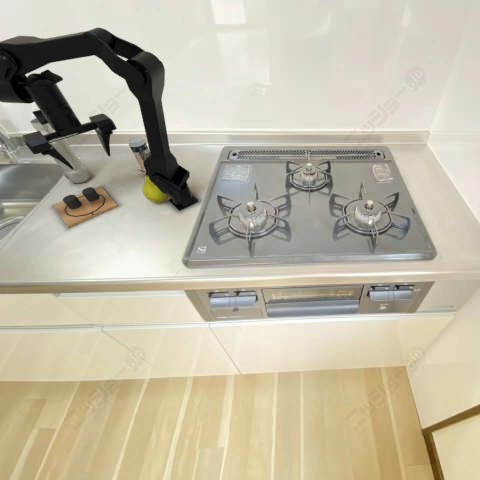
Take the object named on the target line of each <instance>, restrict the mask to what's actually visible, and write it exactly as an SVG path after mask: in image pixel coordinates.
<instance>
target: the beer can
mask: <svg viewBox="0 0 480 480" xmlns="http://www.w3.org/2000/svg"><path fill="white" fill-rule="evenodd" d="M128 146H129V148H130V150H131V151H132V153H133V155H134V157H135V159H136V161H137V163H138V165H139V167H140V168H141V169H140V170H142V171H144V172H143V174H144V175H145V176H146V173H145V172H146V170H145V167H144V164H143V162H144V161H145V160H146V158H147V157H148V156H149V155H150V150H149V146H148V144H147V142H146V140H145V139H143V137H140V136H135V137H134V136H133V137H132V138H130V139H129V140H128ZM142 171H141V172H142Z"/></svg>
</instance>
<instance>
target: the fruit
mask: <svg viewBox="0 0 480 480" xmlns="http://www.w3.org/2000/svg"><path fill="white" fill-rule="evenodd" d="M137 171H140V172H142V173H144V171H142V169H139V168H138V169H137ZM145 173H146V172H145ZM142 194H143V196H144V197H145V198H146V199H147V200H148V201H151V202H152V203H157V204H160V203H163V202H165V201H166V200H167V198H168V197H169V195H168V194H164V193H162V192H161V191H160V189H159V188H158V187H157V186H156V185H155V184H154V183H153V182H151V181H150V179H149V177H148V175H147V176H146V175H145V176H144V184H143V186H142Z"/></svg>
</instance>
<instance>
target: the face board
mask: <svg viewBox="0 0 480 480" xmlns="http://www.w3.org/2000/svg"><path fill="white" fill-rule="evenodd" d="M94 189H95V191H96V192H97V193H98V195H99V199H98V200H96V201H92V202H90V201H88V200H87V199H86V198H85V196H84V195H83V194H82V193H80V194H78V195H75V196H76V197H77V198H78V200H79V201H80V202H81V203H82V205H81V206H80V207H79V208H77V209H70V208H69V207H68V206H67V205H66V204H65V203H64V201H63V200H62V201H60V202H58V203H55V204H54V205H53V206H54V207H55V209H56V210H57V211H56V212H57V213H58V214H59V216H60V217H61V218H62V220H63V221H64V223H65V225H66V226H67V227H68V228H69V229H70V228H72V227H74V226H77V225H79V224H81V223H84V222H85V221H88V220H90V219H93V218H94V217H97V216H99V215H101V214H103V213H106V212H108V211H110V210H113V209H115V208H117V207H118V204H117V203H116V202H115V201H114V200H113V199H112V197H111V196H110V195H109V194H108V192H106V191H105V189H104V188H103V187H102V186H101V185H100V186H98V187H96V188H95V187H94Z"/></svg>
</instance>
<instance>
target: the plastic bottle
mask: <svg viewBox="0 0 480 480" xmlns="http://www.w3.org/2000/svg"><path fill="white" fill-rule="evenodd" d="M29 123H30V124H31V126H32V128H33V129H34V130H35V131H36V132H37V131H40V132H41V133H42V135H46V134H50V133H53V132H55V130H53V129H52V127H51V126H50V125H49V123H48V124H44V125H41V124H40V122H39V121H38V120H37V118H36V117H35V118H33V119H31V120H30V121H29ZM51 144H52V145H53V146H54V147H55V148H56V149H57V150H58V151H59V152H60V154H61V155H62V156H63V157H64V158H65V159H66V160H67V161H68V162H69V163H70V164H71V166H72V167H73V168H74V169H71V168H69V167H68V166H67V165H65V164H64V163H62V162H61V161H59V160H58V159H56V158H54V157H52V158H53V160H54V161H55V163H57V165H58V167H59V168H60V170H61V172H62V174H63V176H64V178H65V179H67V181H69V182H71V183H74V184H79V183H80V184H81V183H84V182H87V181H88V180H89V179H90V178H91V177H92V176H91V175H92V173H91V171H90V169H89V167H88V166H87V165H86V164H84V163H83V162H82V160H81V159H80V158H79V157H78V156H77V155H76V153H75V152H74V150H73V148H72V147H71V145H70V143H69V141H68V138H65V139H62V140H58V141H55V142H52V143H51Z"/></svg>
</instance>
